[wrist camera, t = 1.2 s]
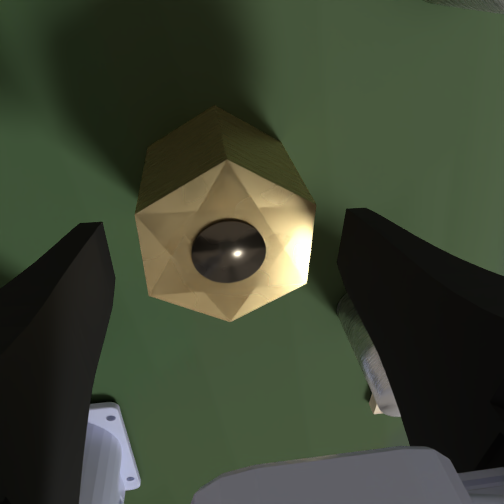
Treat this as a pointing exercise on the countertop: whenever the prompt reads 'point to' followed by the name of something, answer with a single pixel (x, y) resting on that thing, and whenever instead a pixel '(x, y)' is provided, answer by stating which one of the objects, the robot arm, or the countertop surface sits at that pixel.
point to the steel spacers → (361, 343)
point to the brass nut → (222, 217)
